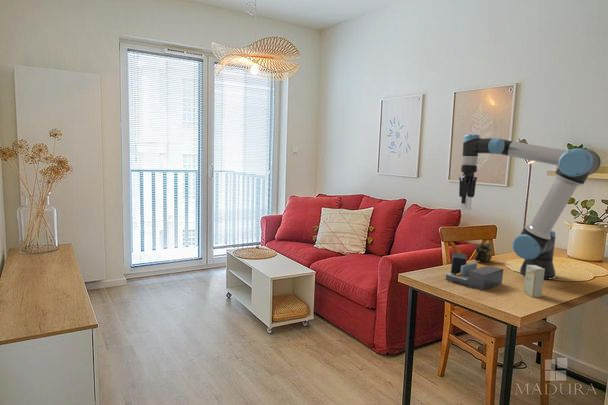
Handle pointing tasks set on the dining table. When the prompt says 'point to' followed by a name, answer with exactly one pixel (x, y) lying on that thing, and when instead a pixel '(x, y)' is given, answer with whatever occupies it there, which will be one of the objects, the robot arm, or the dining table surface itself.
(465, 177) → the robot arm
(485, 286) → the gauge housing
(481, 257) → the seashell
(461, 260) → the small box
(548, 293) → the dining table surface
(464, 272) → the blue-grey flat panel
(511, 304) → the dining table surface
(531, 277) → the skincare box
